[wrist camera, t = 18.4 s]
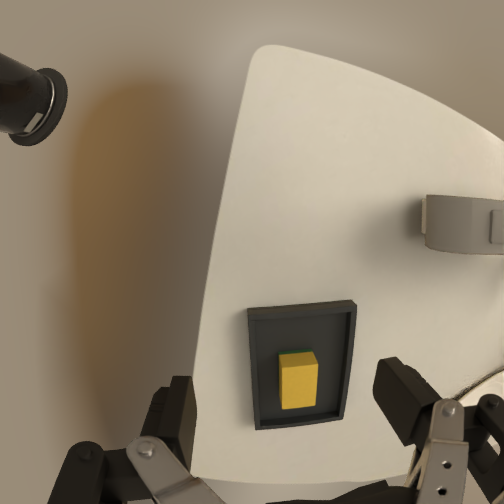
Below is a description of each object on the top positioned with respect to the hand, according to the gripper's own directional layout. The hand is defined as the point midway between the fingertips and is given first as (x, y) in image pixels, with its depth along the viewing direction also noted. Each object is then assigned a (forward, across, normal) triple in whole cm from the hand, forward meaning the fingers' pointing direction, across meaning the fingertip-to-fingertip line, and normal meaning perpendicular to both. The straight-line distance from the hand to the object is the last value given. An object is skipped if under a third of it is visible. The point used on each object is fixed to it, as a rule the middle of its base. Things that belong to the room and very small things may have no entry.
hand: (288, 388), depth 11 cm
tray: (+24, -6, +16) cm, 30 cm away
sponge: (+24, -5, +16) cm, 29 cm away
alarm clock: (+24, -32, -5) cm, 40 cm away
